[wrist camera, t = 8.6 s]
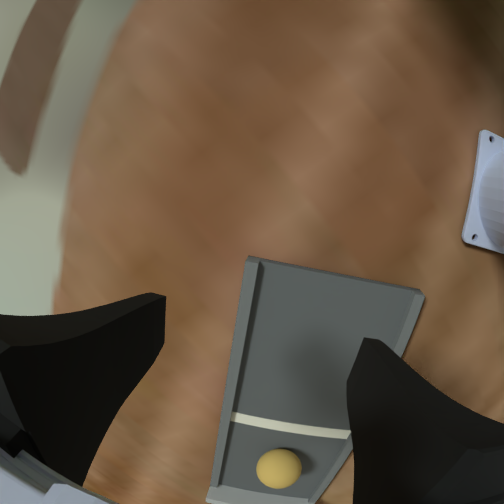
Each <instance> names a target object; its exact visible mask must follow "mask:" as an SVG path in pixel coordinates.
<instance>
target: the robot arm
mask: <svg viewBox="0 0 504 504" xmlns="http://www.w3.org/2000/svg"><path fill="white" fill-rule="evenodd" d="M489 137H491V139H492V142H490V140H489ZM474 234H475V238H474V239H473V240H472V236H473V235H474ZM462 239H463V241H464V242H466V243H469V244H472V245H476V246H479V247H482V248H486V249H489V250H492V251H496V252H499V253H502V254H504V138H502V137H500V136H498V135H496V134H494V133H492V132H490V131H488V130H482V131H480V132H479V139H478V148H477V156H476V164H475V171H474V177H473V183H472V189H471V194H470V199H469V204H468V209H467V214H466V218H465V223H464V227H463V231H462ZM165 311H166V296H163V295H159V294H155V293H152V292H151V293H145V294H141V295H137V296H134V297H131V298H127V299H124V300H121V301H117V302H114V303H110V304H107V305H103V306H99V307H95V308H91V309H87V310H83V311H78V312H72V313H65V314H57V315H44V316H13V315H1V314H0V504H119V503H116V502H114V501H112V500H110V499H108V498H106V497H103V496H101V495H99V494H96V493H94V492H91V491H89V490H87V489H85V488H83V487H82V486H83V483H84V481H85V478H86V475H87V473H88V470H89V468H90V465H91V463H92V461H93V459H94V457H95V454H96V452H97V450H98V448H99V446H100V444H101V442H102V440H103V438H104V436H105V434H106V432H107V430H108V428H109V426H110V425H111V423H112V421H113V419H114V417H115V416H116V414H117V412H118V410H119V409H120V407H121V406H122V404H123V403H124V401H125V400H126V399H127V397H128V396H129V395H130V393H131V392H132V391H133V390H134V388H135V387H136V386H137V384H138V383H139V382H140V380H141V379H142V378H143V376H144V375H145V374H146V372H147V371H148V370H149V368H150V367H151V366H152V364H153V363H154V361H155V360H156V358H157V356H158V354H159V352H160V350H161V348H162V347H163V345H164V339H165ZM346 397H347V410H348V417H349V424H350V431H351V438H352V445H353V452H354V491H353V504H504V424H503V423H500V422H497V421H495V420H492V419H490V418H487V417H485V416H482V415H480V414H478V413H476V412H474V411H472V410H470V409H468V408H466V407H465V406H463V405H461V404H459V403H457V402H456V401H454V400H452V399H451V398H449V397H448V396H447V395H445V394H444V393H442V392H441V391H439V390H438V389H436V388H435V387H434V386H432V385H431V384H430V383H429V382H427V381H426V380H425V379H424V378H423V377H421V376H420V375H419V374H418V373H417V372H416V371H414V370H413V369H412V368H411V367H410V366H409V365H408V364H407V363H406V362H405V361H403V360H402V359H401V358H400V357H399V356H398V355H397V354H396V353H395V352H394V351H393V350H392V349H391V348H389V347H388V346H387V345H386V344H385V343H383V342H382V341H381V340H379V339H373V338H366V337H364V338H363V341H362V343H361V346H360V349H359V351H358V354H357V357H356V359H355V362H354V364H353V367H352V369H351V372H350V374H349V377H348V379H347V381H346Z"/></svg>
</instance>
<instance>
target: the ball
mask: <svg viewBox="0 0 504 504" xmlns="http://www.w3.org/2000/svg"><path fill="white" fill-rule="evenodd" d="M301 470H302V465H301V462H300V459H299V458H298V457H297V456H296V455H295V454H294V453H293V452H291V451H289V450H286V449H273V450H270V451H268V452H266V453H265V454H264V455H262V456H261V458H260V459H259V461H258V463H257V467H256V472H257V476H258V478H259V479H260V481H261V482H262V483H263V484H265V485H266V486H268V487H271V488H275V489H281V488H286V487H289V486H291V485H292V484H294V483H295V482H296V481H297V480H298V478H299V477H300V474H301Z"/></svg>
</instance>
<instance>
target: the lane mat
mask: <svg viewBox="0 0 504 504" xmlns="http://www.w3.org/2000/svg"><path fill="white" fill-rule="evenodd" d="M424 298H425V295H424V294H423V293H422V292H421V291H420V289H415V288H410V287H405V286H400V285H394V284H389V283H384V282H379V281H374V280H369V279H364V278H359V277H354V276H348V275H343V274H338V273H333V272H328V271H323V270H318V269H313V268H308V267H303V266H298V265H293V264H288V263H283V262H278V261H273V260H268V259H263V258H258V257H253V256H248V258H247V260H246V262H245V268H244V274H243V280H242V286H241V292H240V299H239V305H238V311H237V317H236V324H235V330H234V336H233V342H232V349H231V355H230V361H229V368H228V374H227V380H226V387H225V393H224V399H223V406H222V412H221V419H220V425H219V431H218V438H217V444H216V451H215V457H214V464H213V470H212V477H211V483H210V488H209V491H208V494H207V497H206V502H208V503H212V504H315V502H316V501H317V500H318V498H319V497H320V496H321V494H322V493H323V492H324V490H325V489H326V488H327V486H328V485H329V483H330V482H331V481H332V479H333V478H334V476H335V475H336V473H337V472H338V470H339V469H340V467H341V466H342V464H343V463H344V461H345V460H346V458H347V457H348V455H349V454H350V452H351V451H352V449H353V445H352V438H351V431H350V424H349V417H348V410H347V397H346V381H347V379H348V377H349V374H350V372H351V369H352V367H353V364H354V362H355V359H356V357H357V354H358V351H359V349H360V346H361V343H362V341H363V338H364V337H366V338H373V339H379V340H381V341H382V342H383V343H385V344H386V345H387V346H388V347H389V348H391V349H392V350H393V351H394V352H395V353H396V354H397V355H398V356H399V357H400V358H401V356H402V354H403V352H404V350H405V347H406V345H407V342H408V340H409V338H410V335H411V333H412V330H413V328H414V325H415V323H416V320H417V317H418V315H419V312H420V309H421V307H422V304H423V301H424ZM273 449H286V450H289V451H291V452H293V453H294V454H295V455H296V456H297V457H298V458H299V459H300V462H301V465H302V470H301V474H300V477H299V478H298V480H297V481H296V482H295V483H294V484H292V485H291V486H289V487H286V488H281V489H275V488H271V487H268V486H266V485H265V484H263V483H262V482H261V481H260V479H259V478H258V476H257V472H256V467H257V463H258V461H259V459H260V458H261V456H262V455H264V454H265V453H266V452H268V451H270V450H273Z"/></svg>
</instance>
